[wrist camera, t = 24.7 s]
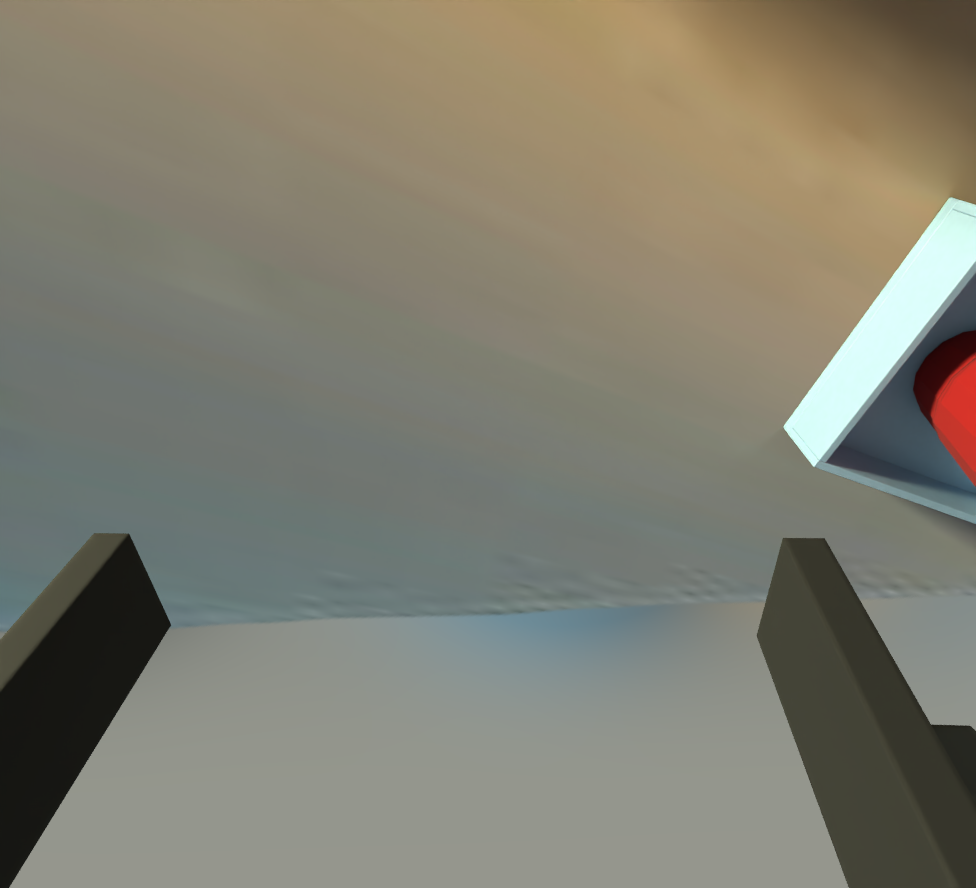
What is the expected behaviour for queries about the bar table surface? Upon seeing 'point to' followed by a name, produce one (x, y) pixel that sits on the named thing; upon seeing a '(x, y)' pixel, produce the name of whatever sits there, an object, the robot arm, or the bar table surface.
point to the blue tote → (898, 376)
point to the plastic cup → (951, 397)
